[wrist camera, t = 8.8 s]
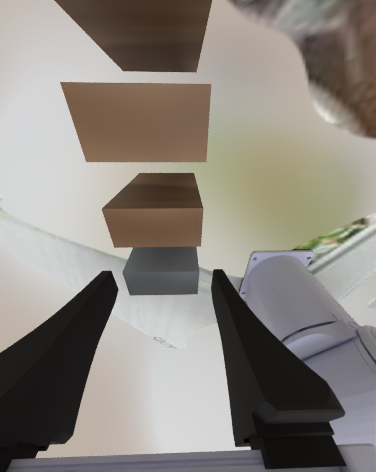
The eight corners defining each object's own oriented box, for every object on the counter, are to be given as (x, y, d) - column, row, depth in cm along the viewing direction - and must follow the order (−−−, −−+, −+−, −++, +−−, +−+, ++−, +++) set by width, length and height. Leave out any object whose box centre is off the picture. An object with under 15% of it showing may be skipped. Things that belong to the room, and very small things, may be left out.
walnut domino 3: (193, 198, 16) (200, 246, 9) (143, 198, 16) (114, 247, 9) (193, 173, 14) (203, 208, 8) (139, 173, 14) (101, 208, 8)
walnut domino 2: (194, 147, 13) (206, 161, 7) (135, 146, 13) (86, 162, 6) (195, 111, 12) (211, 84, 5) (129, 110, 12) (60, 82, 5)
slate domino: (192, 235, 18) (197, 294, 12) (149, 235, 18) (129, 295, 11) (192, 216, 17) (199, 271, 10) (146, 216, 17) (122, 272, 10)
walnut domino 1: (196, 72, 11) (218, -27, 4) (123, 71, 11) (22, -33, 4) (197, 15, 9) (233, -270, 3) (114, 13, 9) (-63, -290, 3)
